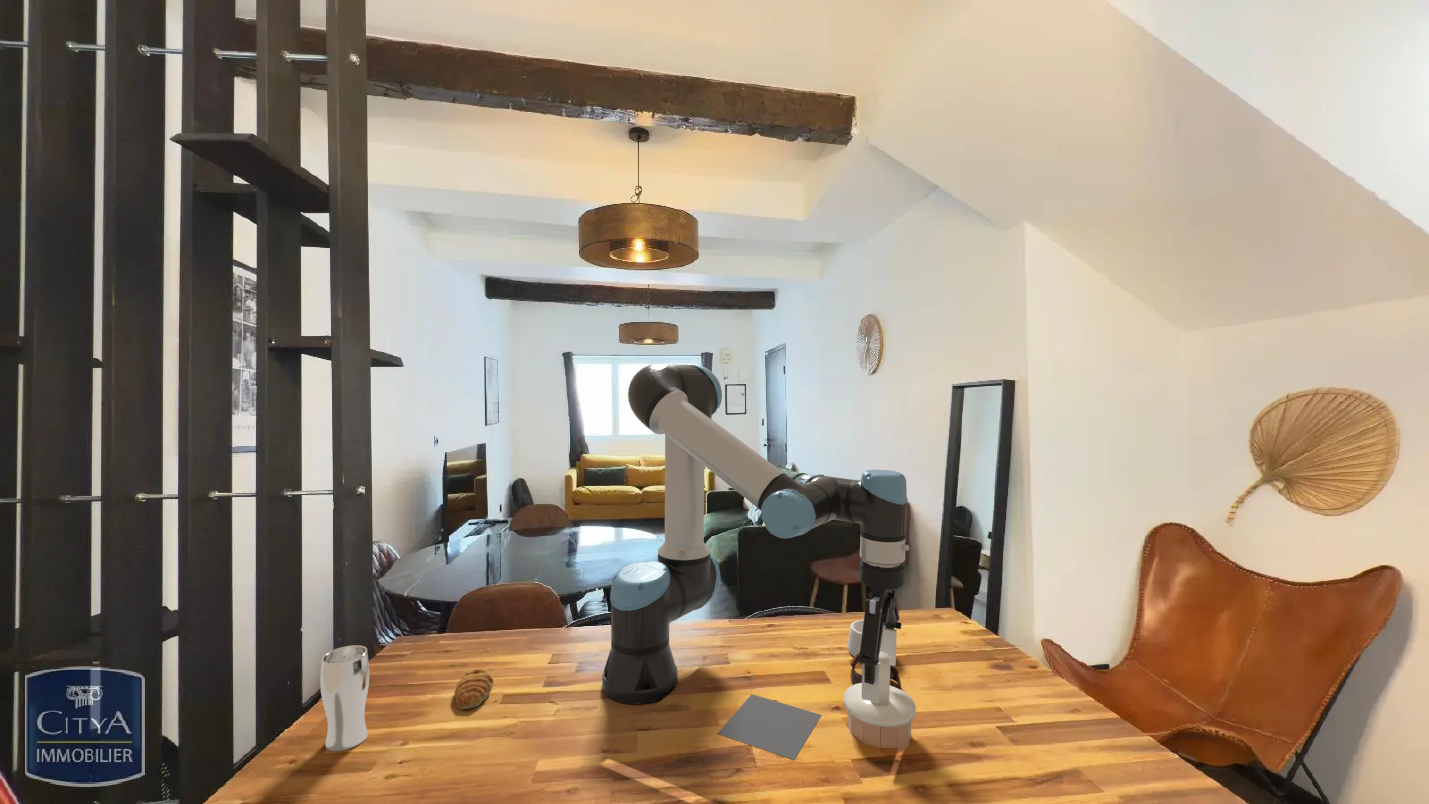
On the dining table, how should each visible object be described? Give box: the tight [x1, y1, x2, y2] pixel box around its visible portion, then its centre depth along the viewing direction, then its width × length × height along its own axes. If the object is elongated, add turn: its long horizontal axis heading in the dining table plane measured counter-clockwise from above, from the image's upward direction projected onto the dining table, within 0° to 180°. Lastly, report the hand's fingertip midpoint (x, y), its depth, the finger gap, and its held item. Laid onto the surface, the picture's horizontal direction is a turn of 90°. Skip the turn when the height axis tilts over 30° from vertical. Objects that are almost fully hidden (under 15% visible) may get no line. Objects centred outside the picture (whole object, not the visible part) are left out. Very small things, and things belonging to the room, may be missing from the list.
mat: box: [717, 693, 823, 761], centre depth 102 cm, size 14×14×1 cm
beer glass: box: [319, 644, 370, 752], centre depth 98 cm, size 7×7×15 cm
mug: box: [847, 619, 885, 657], centre depth 129 cm, size 12×10×6 cm
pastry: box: [454, 668, 494, 710], centre depth 111 cm, size 9×7×4 cm
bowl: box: [846, 711, 912, 754], centre depth 101 cm, size 10×10×5 cm
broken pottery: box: [850, 652, 902, 690], centre depth 117 cm, size 12×10×8 cm
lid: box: [843, 651, 917, 727], centre depth 100 cm, size 12×12×9 cm
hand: (879, 680), depth 100 cm, fingers open, 13 cm apart
